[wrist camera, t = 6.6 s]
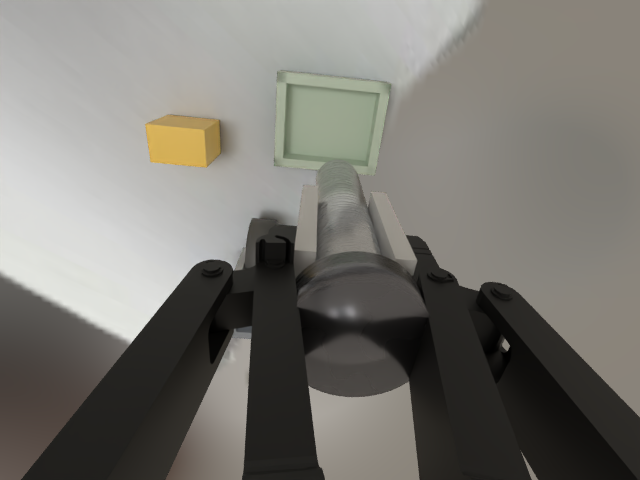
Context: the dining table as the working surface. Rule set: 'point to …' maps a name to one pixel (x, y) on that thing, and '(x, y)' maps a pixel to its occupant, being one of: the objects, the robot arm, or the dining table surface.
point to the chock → (183, 140)
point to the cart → (251, 259)
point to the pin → (355, 298)
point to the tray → (329, 120)
